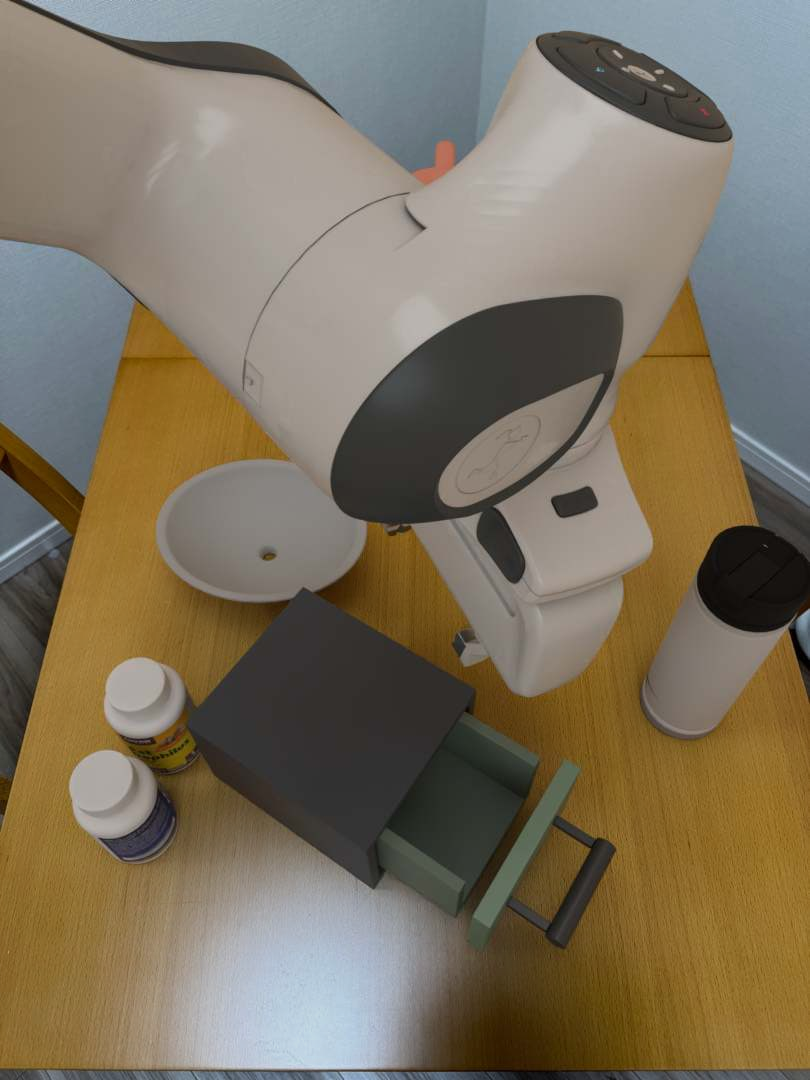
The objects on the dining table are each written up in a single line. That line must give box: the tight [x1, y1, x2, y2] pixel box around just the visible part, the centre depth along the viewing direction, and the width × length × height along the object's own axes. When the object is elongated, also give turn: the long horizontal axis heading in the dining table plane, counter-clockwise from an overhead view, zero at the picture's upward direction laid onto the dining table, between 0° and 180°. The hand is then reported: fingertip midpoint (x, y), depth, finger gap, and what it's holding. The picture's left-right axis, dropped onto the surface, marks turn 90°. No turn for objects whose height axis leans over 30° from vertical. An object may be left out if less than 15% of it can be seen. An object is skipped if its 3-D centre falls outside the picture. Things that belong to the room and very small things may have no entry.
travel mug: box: [639, 524, 810, 741], centre depth 58 cm, size 6×7×20 cm
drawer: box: [374, 711, 617, 953], centre depth 56 cm, size 18×11×8 cm, turn 56°
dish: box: [155, 458, 368, 604], centre depth 72 cm, size 18×14×5 cm
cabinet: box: [185, 587, 477, 891], centre depth 60 cm, size 15×13×10 cm
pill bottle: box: [68, 749, 180, 865], centre depth 57 cm, size 5×5×10 cm
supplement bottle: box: [103, 656, 202, 775], centre depth 61 cm, size 6×6×10 cm
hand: (429, 586), depth 50 cm, fingers open, 8 cm apart
